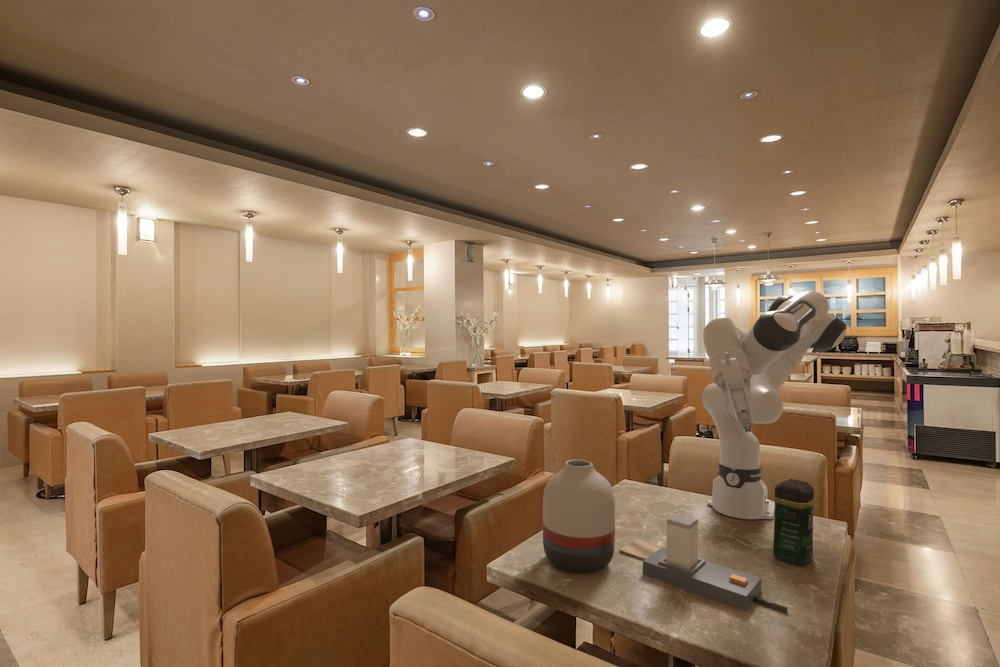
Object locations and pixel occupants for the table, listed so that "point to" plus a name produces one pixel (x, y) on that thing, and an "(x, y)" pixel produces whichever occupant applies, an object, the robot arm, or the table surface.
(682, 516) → the block
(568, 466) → the vase
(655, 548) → the coaster
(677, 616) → the table surface
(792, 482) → the coffee jar
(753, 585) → the power strip
